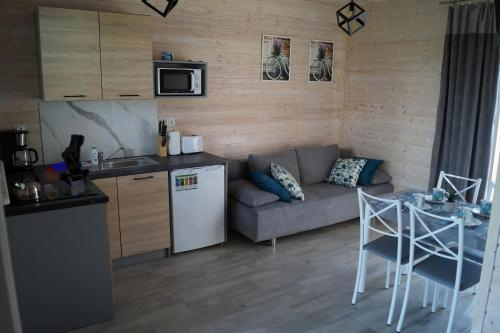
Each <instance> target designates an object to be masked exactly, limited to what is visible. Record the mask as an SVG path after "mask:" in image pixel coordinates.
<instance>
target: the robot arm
mask: <svg viewBox="0 0 500 333" xmlns="http://www.w3.org/2000/svg"><path fill="white" fill-rule="evenodd" d="M84 142H85V136H84V135H83V134H76V133H75V134H74V133H73V134H70V141H69V144H68V146H67V147H66V148H65V149H66V150H65V149H64V151H62V153H61V154H60V156H61V158H62V160H63V162H65V164H66V167H67V171H68V172H69V173H66V172H60V173H59V176H58V177H59V180H58V181H62V182H64V183H66V184H67V185H68V186H71V182H74V181H78V180H84V185H85V184H87V182H86V180H87V178H88V176H89V174H90V169H89V168H82V167H83V164H82V162H81V153H82V152H81V150H82V146H83V145H84V144H85V143H84ZM68 176H70V177H68ZM69 178H70V179H71V180H70V179H69Z"/></svg>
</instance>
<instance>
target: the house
mask: <svg viewBox="0 0 500 333" xmlns="http://www.w3.org/2000/svg"><path fill="white" fill-rule="evenodd" d="M60 172H66V173H69V172H68V171H67V167H66V164H65V162H64V161H61V162H58V163H53V164H51V165H49V166H47V168H45V170H44V180H45V181H60V180H59V177H58V176H59V173H60ZM68 178H70V176H68Z"/></svg>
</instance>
